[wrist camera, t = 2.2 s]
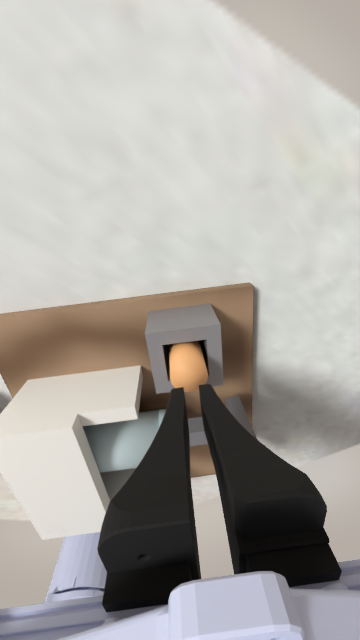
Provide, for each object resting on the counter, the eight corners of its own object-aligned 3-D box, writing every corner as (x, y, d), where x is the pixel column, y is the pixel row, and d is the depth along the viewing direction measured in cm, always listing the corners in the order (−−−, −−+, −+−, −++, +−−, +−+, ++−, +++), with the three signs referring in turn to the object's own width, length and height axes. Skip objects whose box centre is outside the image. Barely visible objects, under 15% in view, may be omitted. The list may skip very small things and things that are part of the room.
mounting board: (248, 461, 29) (251, 469, 28) (64, 486, 29) (61, 495, 28) (249, 282, 20) (253, 286, 19) (-18, 316, 20) (-26, 321, 19)
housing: (219, 449, 27) (234, 513, 21) (68, 469, 27) (42, 539, 21) (210, 303, 20) (228, 340, 14) (5, 329, 20) (-60, 377, 14)
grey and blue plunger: (236, 426, 25) (259, 495, 19) (71, 447, 25) (41, 525, 19) (235, 387, 23) (261, 450, 17) (56, 410, 23) (16, 483, 17)
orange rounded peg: (200, 356, 20) (209, 389, 16) (170, 360, 20) (172, 394, 16) (198, 329, 19) (206, 358, 15) (166, 333, 19) (167, 363, 15)
